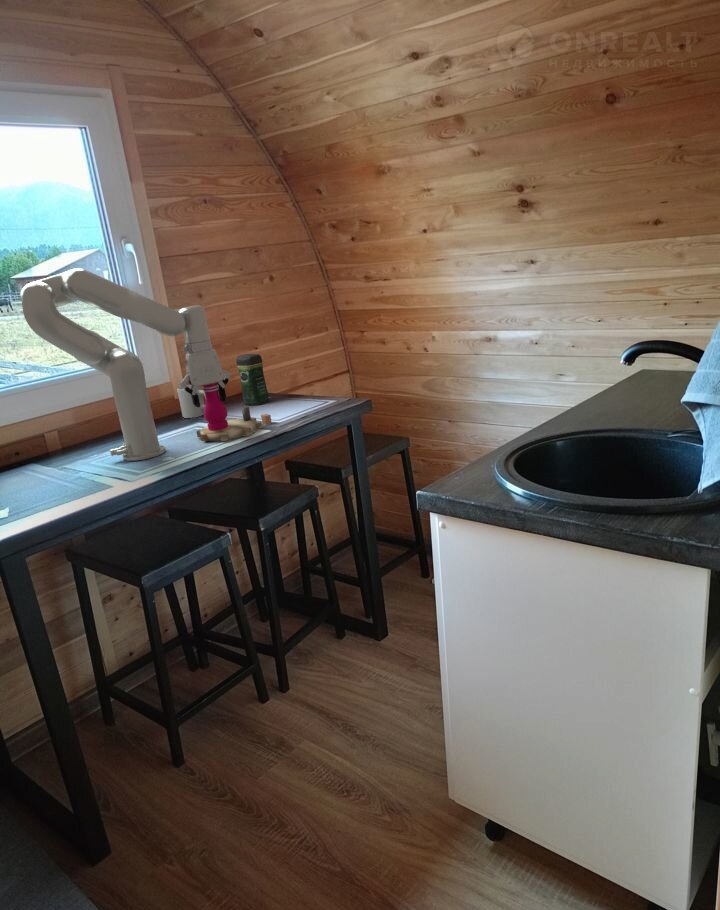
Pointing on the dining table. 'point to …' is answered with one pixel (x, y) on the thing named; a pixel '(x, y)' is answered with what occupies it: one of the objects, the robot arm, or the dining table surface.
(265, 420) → the index marker
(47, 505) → the dining table surface
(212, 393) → the pepper mill
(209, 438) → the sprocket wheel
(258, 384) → the coffee jar
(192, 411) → the mug
